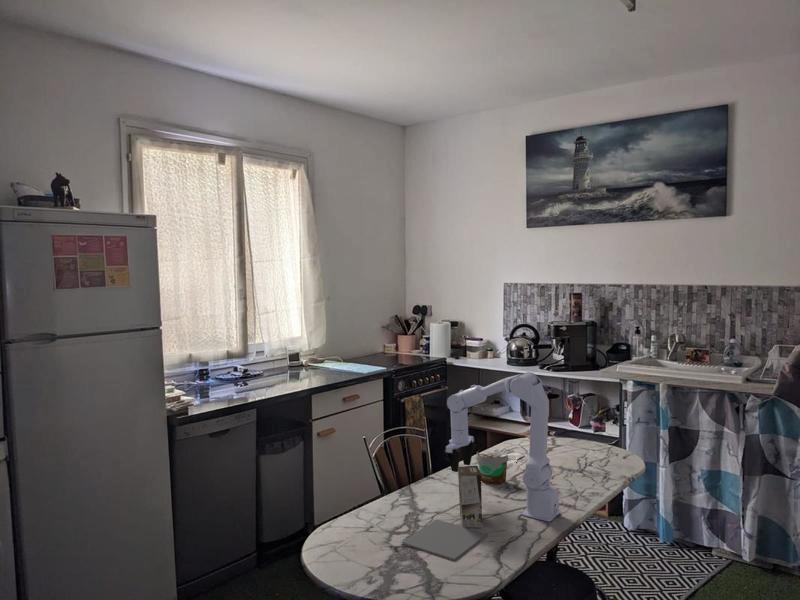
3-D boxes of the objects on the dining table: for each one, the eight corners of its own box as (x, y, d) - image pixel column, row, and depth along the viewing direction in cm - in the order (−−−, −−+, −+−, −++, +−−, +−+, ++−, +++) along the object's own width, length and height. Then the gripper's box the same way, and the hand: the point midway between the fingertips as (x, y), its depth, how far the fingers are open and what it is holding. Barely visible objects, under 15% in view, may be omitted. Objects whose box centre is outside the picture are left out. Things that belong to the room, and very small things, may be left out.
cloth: (511, 451, 251) (511, 446, 251) (539, 457, 241) (539, 452, 241) (473, 467, 233) (473, 462, 232) (502, 475, 223) (502, 469, 223)
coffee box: (483, 527, 178) (481, 475, 177) (461, 528, 178) (459, 475, 177) (479, 515, 187) (478, 464, 186) (459, 515, 187) (457, 465, 186)
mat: (487, 535, 172) (487, 533, 172) (454, 561, 158) (454, 558, 158) (436, 521, 184) (436, 519, 183) (401, 544, 169) (401, 542, 169)
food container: (471, 483, 214) (470, 456, 214) (477, 477, 220) (476, 451, 219) (504, 487, 209) (503, 459, 208) (509, 481, 214) (508, 454, 214)
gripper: (460, 422, 208) (462, 459, 209) (437, 432, 197) (439, 472, 197) (478, 424, 204) (479, 463, 204) (455, 435, 192) (457, 476, 193)
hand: (461, 468), depth 201 cm, fingers open, 7 cm apart
